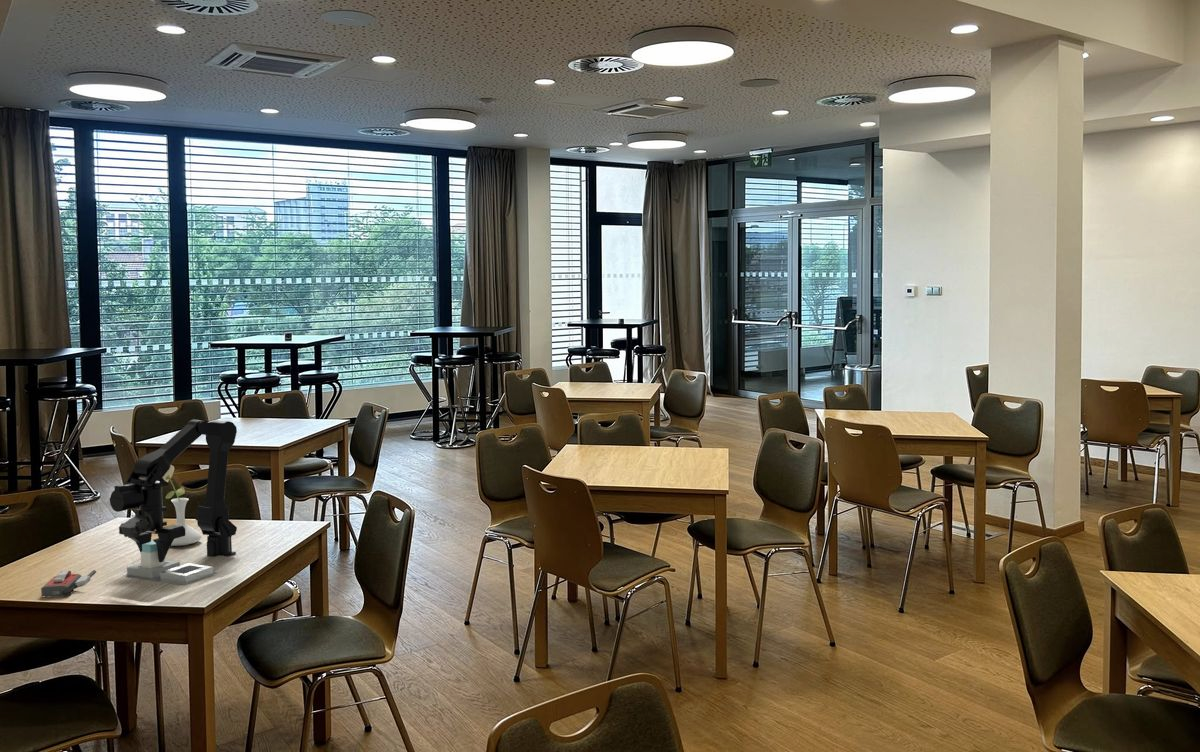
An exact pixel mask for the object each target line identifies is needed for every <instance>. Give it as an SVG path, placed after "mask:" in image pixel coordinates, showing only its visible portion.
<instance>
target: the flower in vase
mask: <svg viewBox="0 0 1200 752" xmlns="http://www.w3.org/2000/svg"><path fill="white" fill-rule="evenodd" d="M174 471H175V466H174V465H172V464H171V466H170V469H169V470H168V471H167V473H166V474H165V475H164V476H163V479H164V480H165V481H166V482H168V483H169V481H170V484H171V485H172V488H173V490H171V491H169V492H168V493H167V494H166V496H165V499H171V498H172V497H174V495H175V496H176V497H177V498H172V499H171V500H170V501H171V502H172V504H173V505H174V508H175V514H176V522H175V524H174V525H180V526H183V527H184V528H185V536H183V537H179V538H176V539H174V540H173V542H172V544H171V546H170V547H173V546H175V547H176V546H177V547H179V546H187V545H192V544H195V543H197V542H199V541H200V540H201V538H202V534H201V533H200V532H199V531H197V530H196V529H195V528H193V527H192V526H190V525H189V524H187V522H186V519H185V516H186V515H185V514H186V513H185V512H186V506H187V503H188V501H189V500H190V499H189V498H187V497H180V496H182V495H184V494H185V493H186V490H185V486H181V487H180V488H178V489H176V488H175V485H174V483H173V481H172V479H171V478H172V477H173V475H174Z"/></svg>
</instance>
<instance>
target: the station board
mask: <svg viewBox="0 0 1200 752" xmlns="http://www.w3.org/2000/svg"><path fill="white" fill-rule="evenodd" d="M216 574H217V575H218V572H214V571H213V574H212V575H209V576H206V577H203V578H200V579H197V580H194V581H192V582H189V583H179V582H173V581H166V580H160V576H158V577H155V578H146V577H139V576H133V575H127V573H126V574H122V577H128V578H133V579H139V580H141V579H142V580H146V581H147V580H148V581H153V582H154V581H155V582H161V583H165V584H166V583H167V584H173V585H179V586H186V585H189V584H191V583H194V582H197V581H200V580H202V579H205V578H207V577H210V576H213V575H216Z"/></svg>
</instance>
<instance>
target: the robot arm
mask: <svg viewBox="0 0 1200 752" xmlns="http://www.w3.org/2000/svg"><path fill="white" fill-rule="evenodd" d="M237 430H238V429H237V426H236V425H235V424H234V423H233V422H232V421H228V420H217V419H216V420H215V419H214V420H210V421H205V420H201V419H200V420H199V419H191V420H189V421H188V422H187V423H186V425H185V426H183V428H181V429H180V430H179V431H178V432H177V433H176V434H175V435H173V436H172V437H171V438H170V439H169V440H168V441H166V443H164V444H163V445H162V446H161V447H160V448H159V449H157V450H155V451H151V452H149V453H147V454H145V455H142V457H140V458H139V459H136V462H134V465H133V469H132V471H131V473H130V474H129V476H128V478H127V479H126V482H125V484H117V485H115V486H114V490H113V491H112V492H111V494H110V496H109V505H110V506H111V509H112V510H113V511H114V512H117V513H119V512H123V511H128V510H134V509H135V512H134V513H135V515H134V516H133V517H131V518H130V519H128V520H126V521H125V522H122V523H121V524H120V526H119V527H118V533H119V535H123V536H124V537H125V538H128V539H130V540H132V541H134V542H135V544H136V546H137V548H138V549H139V552H140V554H141V552H142V544H145V543H149V542H152V541H154V542H155V543H156V544H157V551H158V559H159V562H163V561H164V559H166V556H167V553H168V551H169V550H170V548H171V547H172V546H171V544H172V542H173V540H174V539H176V538H179V537H183V536H185V528H184V527H183V526H180V525H175V524H171V525H168V522H167V521H164V512H165V511H167V506H163V505H164V504H163V487H167V486H170V483H169V481H168V482H166V481H165V480H164V479H163V476H164V475H165V474H166V473H167V471H168V470H169V469H170V466H171V465H172V463H173V462H174V460H175V459H176V458H178V457H179V456H180V454H182V453H183V452H184V451H185V450H186V449H188V447H190V446H191V445H192V444H193V443H194V442H195V441H196V440H198V439H199V438H201V436H202V435H203V436H205V442H206V445H207V446H208V448H209V461H208V462H209V463H208V473H207V485H206V495H205V501H204V502H203V504H202V505H201V506H200V505H198V506H197V508H196V516H195V521H196V522H197V523H196V524H197V527H199V529H200V530H201V533H202V535H205V536H207V537H206V541H207V542H206V556H207V557H213V558H214V557H218V556H221V557H231V556H233V555H237V552H236V551H232V550H233V549H232V537H233V536H235V535H236V533H237V531H238V527H237V526H236V525H235V524H233V522H231V521H230V518H229V509H228V507H227V504H226V503H225V494H226V493H225V492H226V483H227V481H226V480H227V471H228V468H227V467H228V458H229V452H230V450H231V449H232V447H233V445H234V444H235V441H236V437H237V432H238V431H237ZM136 508H137V509H136ZM152 534H153V535H154V534H155V535H157V538H154V539H152V536H153V535H152Z"/></svg>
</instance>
